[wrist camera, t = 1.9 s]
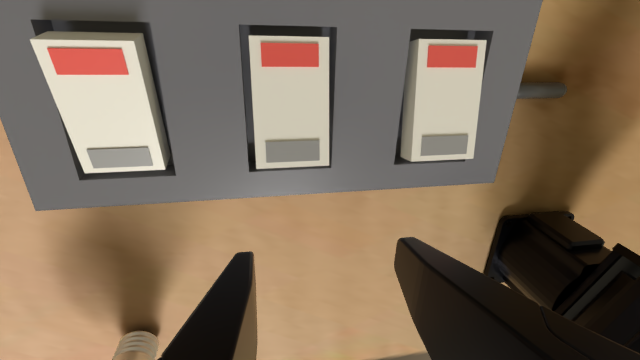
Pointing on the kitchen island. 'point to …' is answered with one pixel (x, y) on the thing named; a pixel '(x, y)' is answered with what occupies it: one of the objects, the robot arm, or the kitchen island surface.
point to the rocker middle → (290, 100)
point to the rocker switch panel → (236, 94)
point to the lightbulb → (137, 346)
